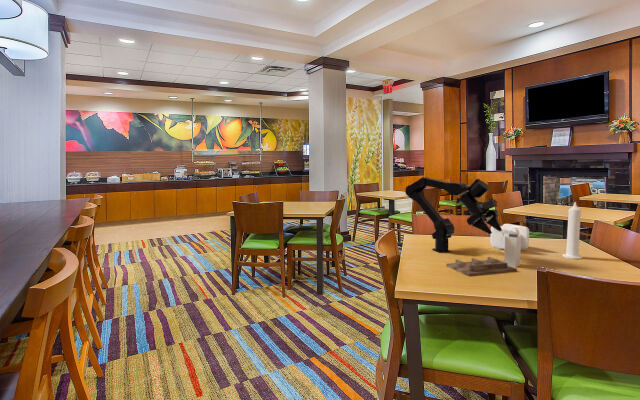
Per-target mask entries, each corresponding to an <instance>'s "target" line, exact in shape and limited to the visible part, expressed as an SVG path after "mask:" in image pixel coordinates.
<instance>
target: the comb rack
mask: <svg viewBox="0 0 640 400" xmlns="http://www.w3.org/2000/svg"><path fill="white" fill-rule="evenodd" d="M446 267H448V268H450V269H452V270H454V271H456V272H459V273H461V274H463V275H465V276H468V277H470V276H471V277H473V276H481V275H492V274H501V273H510V272H511V273H513V272H517V271H518V269H517V267H512V266H508V265H507V263H506V262H504V261H502V260H500V259H498V258H494V257H491V256H487V258H486V260H480V259H477V258H472V257H471V261H462V260H461V259H455V262H453V263H451V262H450V263H446Z"/></svg>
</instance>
